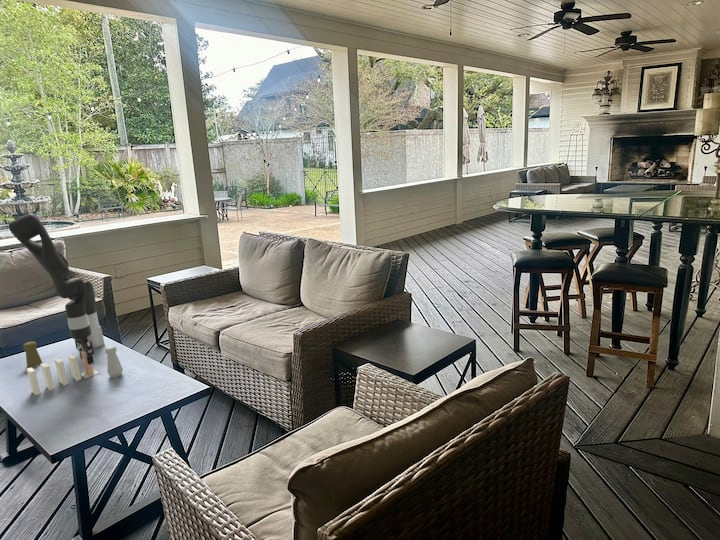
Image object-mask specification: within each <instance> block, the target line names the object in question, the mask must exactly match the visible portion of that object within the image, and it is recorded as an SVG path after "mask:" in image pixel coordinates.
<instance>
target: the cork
mask: <svg viewBox="0 0 720 540" xmlns="http://www.w3.org/2000/svg"><path fill="white" fill-rule="evenodd" d="M22 347H23V350H24V351H25V356H26V357H25V358H26V359H25V360H26V368H27V369H28V368H31V367H33V368H36V367H35V366H37V365H39V366H41V365H40V364H41V363H42V364H43V361H42V358H41V356H40V353H39V351H38V349H37V347H38V344H37V342H36V341H28V342H25V343H24V344H23V345H22ZM37 367H38V366H37Z"/></svg>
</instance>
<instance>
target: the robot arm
mask: <svg viewBox="0 0 720 540" xmlns="http://www.w3.org/2000/svg"><path fill="white" fill-rule="evenodd" d="M8 230H9V231H10V233H11V234H12V236H14V237H15V239H17V241H18V242H20V243H21V244H22V246H24V247H25V248H26V250H28V252H30V253H31V255H32V256H33V257H34V258H35V259H36V260H37V261H38V263H39V264H40V265H41V267H42V268H43V269H44V270H45V271H46V272H47V273H48V274H49V276H50V277H51V279H52V283H53V286H54V289H55V293H56V294H57V296H58V297H60V298H62V299H67V300H70V301H68V302H67V303H66V304H65V307H64V308H65V312H66V317H67V325H68V328H69V332H70V333H69V334H70V337H71V339H73V340H74V344H75V349H76V350H77V351H78V352H79V357H80V360H82V356H81V352H80V351H83V352H85V354H86V357H87V362H88V364H89V365H90V364H92V365H93V364H94V363H95V360H94V356H93V355H95V352H94V351H95V350H94V349H95V348H96V349H99V348H101V347H102V346H104V345H105V344H106V343H105V340H104V335H103V330H102V326H101V325H100V322H99V318H98V314H97V309H96V307H97V302H96V297H95V289H94V285H93V284H92V282H91V281H89V280H83V279H82V278H80V277H73V278H71V277H70V276H69V274H70V268H69V261H68V260H67V258H66V257H65V256H64V255H63V253H62V252H61V251H60V250H59V249H57V248H56V246H55V244H54V242H53V241H52V238H51V237H50V235H49V233H48V231H47V229H46V227H45V226H44V224H43V222H42V221H41V220H40V218H39V217H38V216H37V215H36V214H35V213H33V212H30V213H27V214H25V215H21V216H20V217H18V218H16V219H14V220H13V221H10V222H9V223H8ZM37 236H39V237H40V240H41V243H38V242H36V241H34V240H33V238H35V237H37ZM100 346H101V347H100Z"/></svg>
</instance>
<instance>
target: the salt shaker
mask: <svg viewBox="0 0 720 540" xmlns="http://www.w3.org/2000/svg"><path fill="white" fill-rule="evenodd" d="M104 352H105V354H106V355H107V372H106V373H107V374H108V375H109V377H110V378H111V379H116V378H120V377H121V375H122V374H123V369H124V368H123V366H122V364H121V362H120V360H119V357H118V355H117V347H116V346H114V345H111V346H107V347H105V349H104Z"/></svg>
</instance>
